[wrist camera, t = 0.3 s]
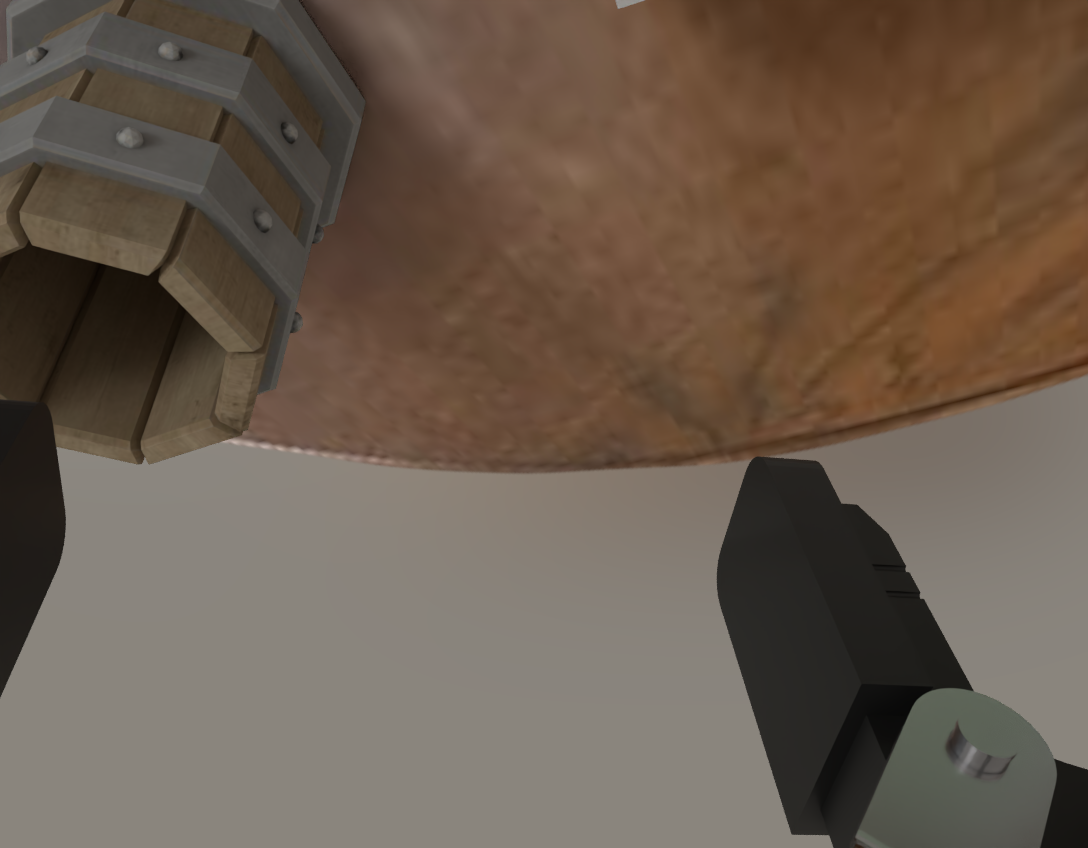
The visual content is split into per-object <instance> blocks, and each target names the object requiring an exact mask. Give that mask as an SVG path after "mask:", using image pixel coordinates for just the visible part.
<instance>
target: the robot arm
mask: <svg viewBox="0 0 1088 848" xmlns="http://www.w3.org/2000/svg"><path fill="white" fill-rule="evenodd" d="M65 527H66V517H65V506H64V499H63V492H62V485H61V478H60V471H59V463H58V456H57V449H56V442H55V435H54V428H53V421H52V416H51V413H50V410H49V408H48V406H47V405H46V404H45V403H43V402H31V401H17V400H3V399H0V697H1V695H2V692H3V690H4V688H5V685H6V683H7V681H8V679H9V677H10V674H11V672H12V670H13V668H14V665H15V663H16V660H17V659H18V656H19V654H20V652H21V650H22V647H23V645H24V643H25V641H26V638H27V636H28V633H29V631H30V629H31V627H32V625H33V623H34V620H35V618H36V616H37V614H38V611H39V609H40V607H41V604H42V602H43V600H44V598H45V596H46V593H47V591H48V589H49V587H50V584H51V582H52V579H53V577H54V575H55V573H56V571H57V568H58V565H59V563H60V559H61V556H62V551H63V546H64V539H65ZM905 568H906V565H905V563H904V562H903V560H902V558H901V556H900V554H899V552H898V551H897V549H896V547H895V545H894V543H893V541H892V539H891V538H890V536H889V534H888V533H887V532H886V531H885V530H884V529H883V528H882V527H880V526H879V525H878V524H877V523H876V522H875V521H874V520H873V519H872V518H871V517H870V516H868V515H867V514H866V513H865V512H864V511H863V510H862V509H861V508H860V507H859V506H858V505H853V504H841V502H840V500H839V498H838V496H837V494H836V492H835V490H834V488H833V486H832V484H831V482H830V480H829V478H828V476H827V474H826V473H825V470H824V468H823V467H822V465H821V464H820V463H819V462H817V461H810V460H797V459H784V458H770V457H755V458H754V459H753V460H752V461H751V462H750V464H749V466H748V468H747V470H746V473H745V476H744V479H743V482H742V485H741V488H740V491H739V494H738V498H737V501H736V504H735V507H734V510H733V514H732V517H731V519H730V523H729V526H728V529H727V532H726V535H725V538H724V542H723V544H722V548H721V551H720V555H719V560H718V567H717V590H718V598H719V602H720V606H721V609H722V613H723V616H724V619H725V622H726V625H727V629H728V632H729V635H730V638H731V641H732V645H733V648H734V651H735V654H736V658H737V661H738V664H739V667H740V670H741V674H742V677H743V680H744V683H745V686H746V690H747V693H748V696H749V699H750V702H751V706H752V709H753V712H754V715H755V718H756V722H757V725H758V728H759V731H760V735H761V738H762V741H763V744H764V747H765V751H766V754H767V757H768V760H769V763H770V767H771V770H772V773H773V776H774V779H775V783H776V786H777V789H778V792H779V795H780V799H781V802H782V805H783V808H784V811H785V815H786V818H787V821H788V824H789V827H790V830H791V834H793V835H829V836H830V838H831V842H832V844H833V847H834V848H1088V770H1087V769H1084V768H1080V767H1077V766H1074V765H1071V764H1067V763H1064V762H1062V761H1059V760H1056V759H1054V758H1053V755H1052V753H1051V751H1050V749H1049V747H1048V745H1047V744H1046V742H1045V741H1044V739H1043V738H1042V737H1041V735H1040V734H1039V733H1038V732H1037V731H1036V730H1035V729H1034V728H1033V726H1032V725H1031V724H1030V723H1029V722H1027V721H1026V720H1025V719H1024V718H1023V717H1022V716H1020V715H1019V714H1018V713H1016V712H1015V711H1014V710H1012V709H1011V708H1009V707H1007V706H1006V705H1004V704H1002V703H1001V702H999V701H997V700H995V699H992V698H990V697H988V696H986V695H983V694H980V693H977V692H974V691H973V689H972V687H971V685H970V683H969V681H968V680H967V678H966V676H965V674H964V672H963V671H962V669H961V667H960V665H959V663H958V661H957V659H956V657H955V656H954V654H953V652H952V650H951V648H950V647H949V644H948V643H947V641H946V639H945V637H944V635H943V634H942V632H941V630H940V628H939V626H938V624H937V622H936V621H935V619H934V617H933V615H932V613H931V611H930V610H929V608H928V606H927V604H926V602H925V600H924V599H920V591H919V589H918V587H917V586H916V584H915V582H914V580H913V578H912V576H911V574H910V573H909V572H906V571H905Z"/></svg>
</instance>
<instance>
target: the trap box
mask: <svg viewBox="0 0 1088 848" xmlns="http://www.w3.org/2000/svg"><path fill="white" fill-rule="evenodd" d="M641 1H644V0H616V4H617V7H618V9H619V8H623V7H626V6H629V5H632V4H635V3H638V2H641Z"/></svg>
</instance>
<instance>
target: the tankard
mask: <svg viewBox="0 0 1088 848" xmlns="http://www.w3.org/2000/svg"><path fill="white" fill-rule="evenodd" d="M6 18H7V51H8V61H7V62H5V63H3V64H1V65H0V399H3V400H17V401H31V402H43V403H45V404H46V405H47V406H48V408H49V410H50V413H51V416H52V421H53V428H54V435H55V442H56V447H60V448H65V449H69V450H74V451H78V452H83V453H88V454H92V455H97V456H102V457H107V458H111V459H115V460H120V461H125V462H129V463H134V464H142V462H143V460H144V457H145V458H146V460H147V462H148V464H152V463H156V462H159V461H162V460H165V459H168V458H171V457H175V456H178V455H181V454H184V453H187V452H190V451H193V450H196V449H199V448H203V447H206V446H209V445H212V444H215V443H219V442H222V441H225V440H228V439H231V438H234V437H237V436H241V435H242V433H243V431H245V430H248V427H249V423H250V419H251V415H252V412H253V408H254V404H255V400H256V396H257V395H258V394H261V393H264V392H267V391H270V390H273V389H276V386H277V382H278V378H279V374H280V370H281V366H282V362H283V358H284V354H285V350H286V346H287V342H288V338H289V334H290V333H295V332H297V331H299V330H300V328H301V327H302V325H303V321H302V317H301V315H300V314H299V313H297V312H295V311H296V307H297V303H298V299H299V295H300V291H301V287H302V283H303V279H304V275H305V270H306V266H307V262H308V258H309V253H310V249H311V245H312V243H318V242H320V241H321V240H322V238H323V237H324V232H323V229H322V228H323V227H326V226H328V225H331V224H333V223H334V222H335V218H336V214H337V211H338V207H339V203H340V199H341V196H342V192H343V188H344V185H345V181H346V177H347V173H348V170H349V166H350V162H351V158H352V155H353V151H354V147H355V144H356V140H357V136H358V132H359V129H360V125H361V121H362V117H363V112H364V108H365V104H366V101H365V100H364V98H363V97H362V95H361V93H360V92H359V90H358V89H357V87H356V86H355V84H354V83H353V81H352V80H351V78H350V77H349V75H348V74H347V72H346V71H345V69H344V68H343V66H342V65H341V63H340V62H339V60H338V59H337V57H336V56H335V54H334V53H333V51H332V50H331V48H330V47H329V45H328V44H327V42H326V41H325V39H324V38H323V36H322V35H321V33H320V32H319V30H318V29H317V27H316V26H315V24H314V23H313V21H312V20H311V18H310V17H309V15H308V14H307V12H306V11H305V9H304V8H303V6H302V5H301V3H300V2H299V0H12V1H11V3H10V4H9V6H8V7H7V9H6Z"/></svg>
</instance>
